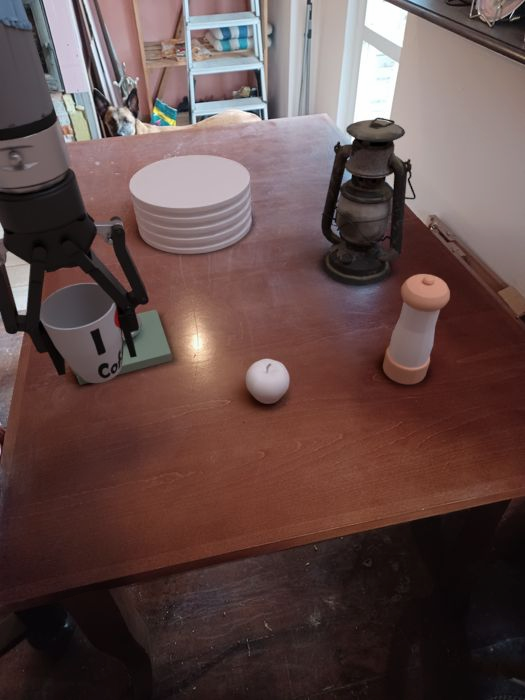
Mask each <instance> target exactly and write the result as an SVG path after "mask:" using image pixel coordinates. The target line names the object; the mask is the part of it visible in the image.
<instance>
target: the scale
mask: <svg viewBox="0 0 525 700" xmlns="http://www.w3.org/2000/svg"><path fill="white" fill-rule="evenodd" d="M136 314H137V315H138V316H139V317H140V318H141V322H142V328H141V330H140V332H139V333H138V334H137V335H135V336H134V337H132V338H133V342H134V346H135V350H136V355H137V357H133V358H131V357H130V354H129V351H128V348H127V344H126V341H125V340H123V348H124V350H123V360H122V368H121V370H120V372H119V373H118V374H117V375H116V376H119V375H123V374H127V373H131V372H134V371H139V370H142V369H146V368H149V367H154V366H158V365H161V364H165V363H169V362H172V361H173V356H172V351H171V349H170V346H169V343H168V339H167V336H166V334H165V330H164V328H163V325H162V322H161V318H160V316H159V313H158V310H157V309H152V310H148V311H143V312H139V313H136ZM70 369H71V371H72V373H73V375H75V376H76V379H77V381H78V384H79V385H80V386H82V385H85V384H90V382H87V381H85V380H84V379H83V378H82V377H81V376H79V375H78V374H77V373H76V372H75V371H74V370H73V369H72V368H71V367H70Z"/></svg>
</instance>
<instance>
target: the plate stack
mask: <svg viewBox="0 0 525 700" xmlns="http://www.w3.org/2000/svg"><path fill="white" fill-rule="evenodd" d="M128 187H129V193H130V195H131V201H132V204H133V210H134V211H133V212H134V214H135V220H136V224H137V228H138V233H139V235H140V237H141V239H142V240H143V241H144V242H145V243H146V244H147V245H148V246H151V247H152V248H154V249H157V250H159V251H163V252H166V253H172V254H177V255H178V254H179V255H197V254H198V255H199V254H206V253H211V252H215V251H219V250H223V249H225V248H228V247H230V246H232V245H234V244H236V243H237V242H239V241H241V240H242V239H244V237H245V236H246V235H247V234H248V233H249V232H250V230H251V227H252V219H253V218H252V196H251V192H252V191H251V190H252V189H251V175H250V172H249V171H248V169H247V168H246V167H245V166H244V165H242V164H241V163H239V162H237V161H236V160H232V159H230V158H227V157H222V156H217V155H209V154H189V155H188V154H187V155H180V156H179V155H178V156H172V157H168V158H164V159H161V160H158V161H154V162H152V163H150V164H147V165H145V166H143V167H142V168H141V169H139V170H138V171H136V172H135V173H134V175H132V177H131V178H130V180H129V185H128Z"/></svg>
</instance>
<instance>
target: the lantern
mask: <svg viewBox="0 0 525 700" xmlns="http://www.w3.org/2000/svg"><path fill="white" fill-rule="evenodd" d="M345 131H346V133H347V134H348V136H350V137H352V138H354V139H353V140H352V142H351V143H349V144H343V145H341V141H337V142H336V144H335V145H334V146H333V152H334V154H335V155H334V159H333V164H332V169H331V174H330V179H329V183H328V188H327V193H326V197H325V203H324V207H323V211H322V213H321V222H320V223H321V224H320V228H321V232H322V235H323V236H324V238H325V239H326V240H327V241H328V242H329V243H331V244H332V245H331V246H330V247H329V249H328V253H327V254H326V256H325V258H324V260H323V262H322V265H323V270H324V272H325V274H327V276H329V278H331V279H333V280H334V281H337V282H338V283H341V284H345V285H348V286H355V287H356V286H357V287H358V286H359V287H363V286H371V285H374V284H375V285H376V284H378V283H380V282H382V281H384V280H385V279H386V278H387V277H388V276H389V273H390V271H391V270H390V264H389V263H390V262H394V261H396V260H397V259H398V258H399V257H400V255H401V253H402V245H403V233H404V222H405V221H404V220H405V219H404V218H405V206H406V200H416V198H417V197H416V193H415V190H414V188H413V186H412V185H413V184H412V183H411V178H412V176H413V175H412V171H411V170H412V166H413V164H411V158H408V159H407V161H404V160H403V159H401V158H400V157H399V156H397V155H396V154H395V146H396V145H395V143H394V141H397V140H399V139H401V138H403V137H404V136H405V134H406V131H405V129H404V128H403V127H402V126H401V125H398V124H397V123H396V122H395V121H394V120H392V119H389V118H384V117H376V118H374V119H364V120H360V121H356V122H353V123H351V124H349V125H347V127H346V129H345ZM345 171H346V172H347V173H349V174H350V175H351V177H350V179H348V180H346V181H345V182H344V183H343V180H344V175H345ZM408 174H409V176H408ZM391 175H393V185H392V186H391V185H390V184H389V183H388V182H387V181H386V179H387V177H390V176H391ZM407 183H408V185H409V188H410V190H411V193H412V195H413V197H409V196H406V194H407ZM333 222H334V223H335V224H333ZM332 226H333V227H336V232H338V234H336V233H335V232H334V231H333V229H332ZM389 226H390V234H389V235H386V232H387V230H388V229H389ZM386 239H389V249H387V250H386V249H385V248H384V247H383V246H382V245H381V244H379V243H380V242H384V241H385V240H386Z"/></svg>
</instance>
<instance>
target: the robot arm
mask: <svg viewBox="0 0 525 700" xmlns="http://www.w3.org/2000/svg"><path fill="white" fill-rule="evenodd" d="M32 30H34V29H33V25H32V22H30V20H29V18H28V15H27V12H26V9H25V7H24V3H23V1H22V0H0V225H1V228H2V231H3V235H2V237H1V238H0V317H1V321H2V324H3V327H4V330H5V332H6V333H7V334H8V335H16V334H18V332H20V333H21V332H22V333H26V334H27V335H28V336H29V338H30V340H31V342H32V343H33V346H34V348H35V349H36V352H38V353H39V354H40V355H41V354H45V353H48V356H49V357H50V359H51V361H52V364H53V366H54V368H55V370H56V373H57V374H58V376H63V375H66V361H65V359H64V358H63V357H62V355H61V354H60V353H59V351H58V350H57V349H56V347H55V345H54V344H53V342H52V340H51V338H50V336H49V335H48V333H47V331H46V329H45V327H44V326H43V324H42V322H41V320H40V309H41V304H42V299H43V288H44V281H45V272H46V273H53V272H57V271H59V270H60V269H73V268H78V267H79V268H80V270H82V271H83V273H84V274H86V275H88V276H89V277H90V278H91V279H92V280H93V281H94V283H97V284H98V285H99V286H100V287H101V288H102V289H103V290H104V291H105V292H106V293H107V294H108V295H109V296H110V297H111V299H112V300H113V301H114V302H115V303H116V304H117V308H118V318H119V321H120V325H121V328H122V331H123V334H124V338H125V341H126V344H127V348H128V351H129V354H130V357H131V358H133V357H137V355H136V350H135V346H134V342H133V338H132V335H131V332H134V331H138V330H139V324H138V320H137V316H136V314H137V313H136V308H137V307H138V306H144V305H147V304H148V303H149V301H150V299H149V295H148V292H147V288H146V286H145V283H144V281H143V278H142V276H141V275H140V272H139V270H138V268H137V265H136V263H135V261H134V260H133V256H132V255H131V252H130V250H129V247H128V245H127V243H126V230H125V227H124V224H123V220H122V218H121V217H120V216H117V215H115V216H114V215H113V216H111V218H110V219H109V220H95V219H94V218H93V217H92V216H91V215H90V214H89V212H88V211H87V209H86V205H85V202H84V200H83V195H82V192H81V189H80V185H79V183H78V179H77V176H76V173H75V172H74V170H73V169H71V168H70V167H71V165H72V160H71V156H70V153H69V149H68V145H67V143H66V140H65V136H64V132H63V129H62V126H61V123H60V120H59V116H58V115H57V113H56V109H55V106H54V102H53V99H52V96H51V95H52V94H51V92H50V89H49V85H48V82H47V78H46V75H45V72H44V71H45V70H44V68H43V65H42V61H41V57H40V54H39V51H38V47H37V43H36V41H35V37H34V34H33V31H32ZM97 235H98V236H101V237H102V239H103V241H104V243H105V244H108V245H110V246H111V245H112V246H113V247H112V248H113V253H114V254H115V257H116V259H117V261H118V263H119V266H120V268H121V270H122V272H123V274H124V276H125V278H126V280H127V283H128V284H129V286H130V288H131V290H129V291H128V290H127V288H126V287H125V286H124V285H123V284H122V283H121V282H120V280H118V278H117V277H116V276H115V275H114V274H113V273H112V272H111V271H110V270H109V268H108V267H107V266H106V265H105V264H104V262H102V261H101V259H100V258H99V257H98V256H97V255H96V253H95V251H94V250H93V249H92V245H93V244H94V241H95V239H96V237H97ZM8 252H9V253H10V254H12V255H14V256H15V257H17V258H18V259H20V260H21V261H24V262H26V264H29V275H28V284H27V285H28V288H27V299H26V311H25V314H19V311H18V309H17V304H16V301H15V296H14V293H13V289H12V285H11V283H10V278H9V275H8V274H9V273H8V270H7V267H6V263H7V259H8V258H7V255H8V254H7V253H8Z"/></svg>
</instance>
